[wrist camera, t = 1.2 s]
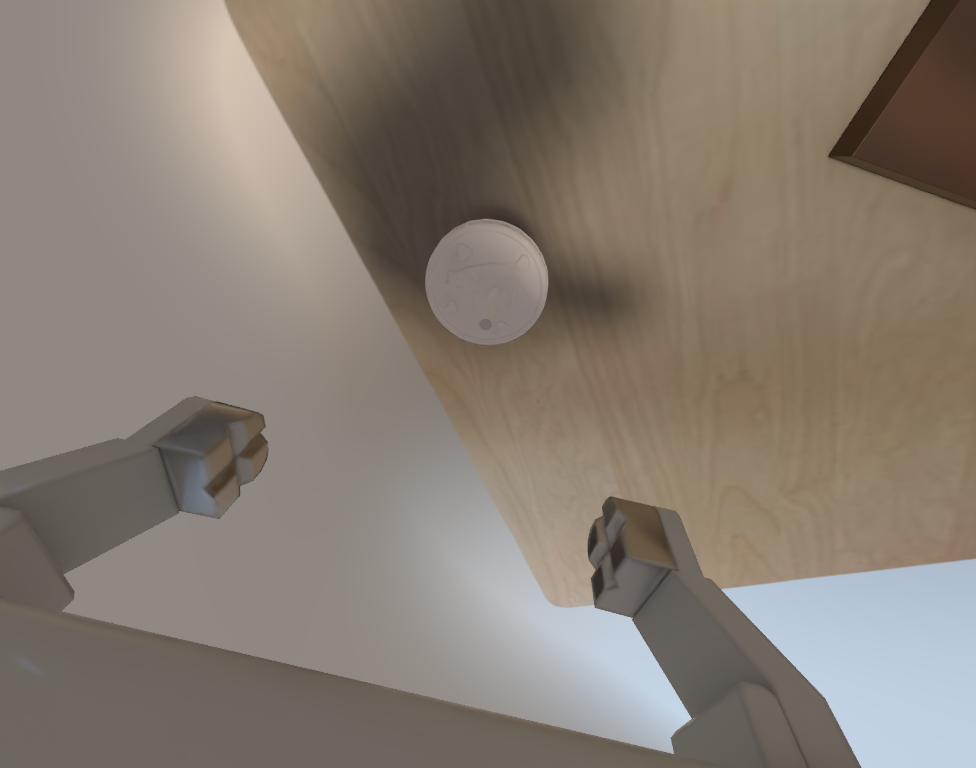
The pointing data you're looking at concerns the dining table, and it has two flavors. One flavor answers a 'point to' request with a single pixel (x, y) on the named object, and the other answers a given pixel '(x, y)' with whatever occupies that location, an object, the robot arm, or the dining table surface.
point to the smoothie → (487, 282)
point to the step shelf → (924, 109)
